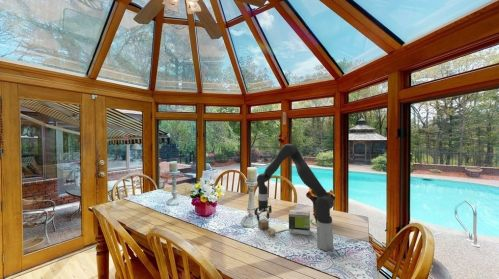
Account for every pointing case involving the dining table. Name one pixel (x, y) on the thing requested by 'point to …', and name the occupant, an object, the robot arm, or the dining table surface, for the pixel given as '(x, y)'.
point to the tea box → (299, 222)
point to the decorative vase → (313, 198)
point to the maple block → (271, 232)
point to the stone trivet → (279, 227)
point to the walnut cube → (263, 224)
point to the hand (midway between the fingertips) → (263, 219)
